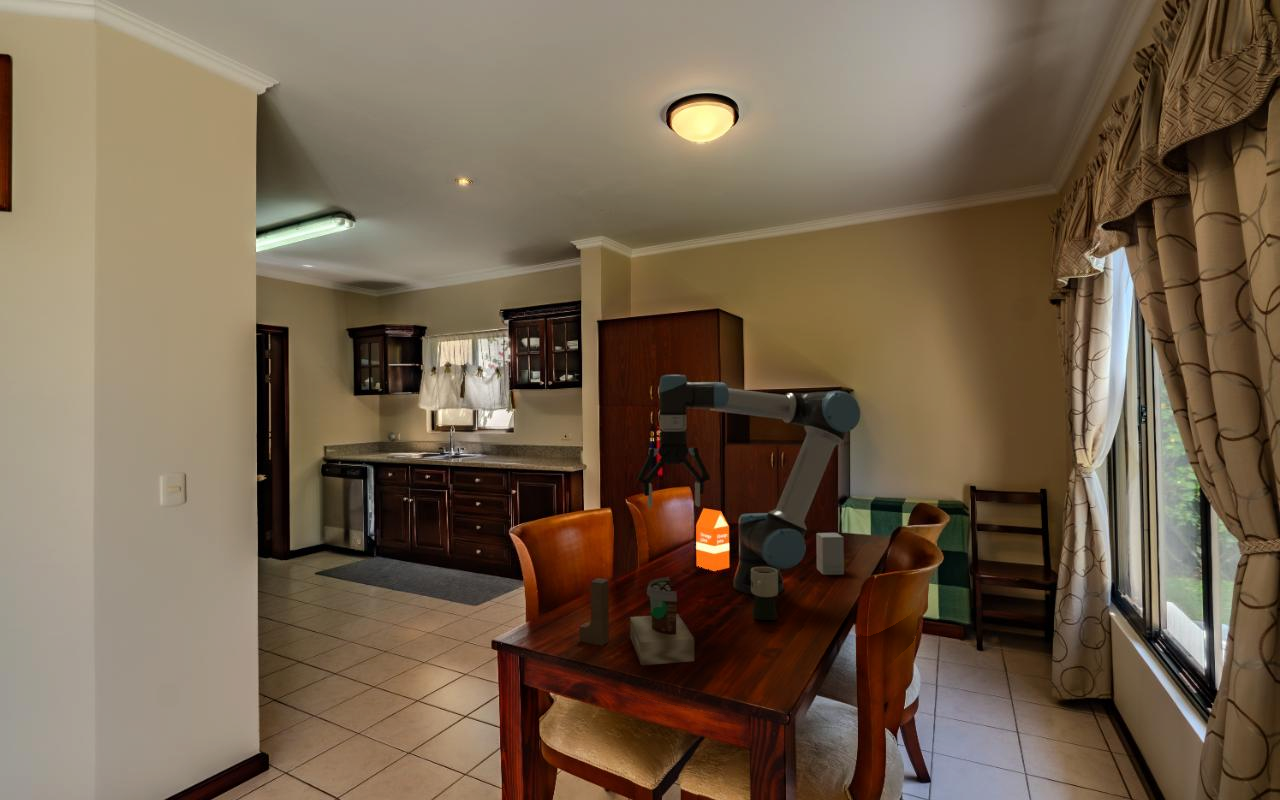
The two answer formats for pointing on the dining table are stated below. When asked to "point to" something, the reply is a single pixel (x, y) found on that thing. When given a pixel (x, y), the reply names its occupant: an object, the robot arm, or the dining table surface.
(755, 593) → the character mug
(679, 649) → the birch block
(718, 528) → the orange juice
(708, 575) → the dining table surface
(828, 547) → the supplement box
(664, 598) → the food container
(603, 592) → the wooden block
